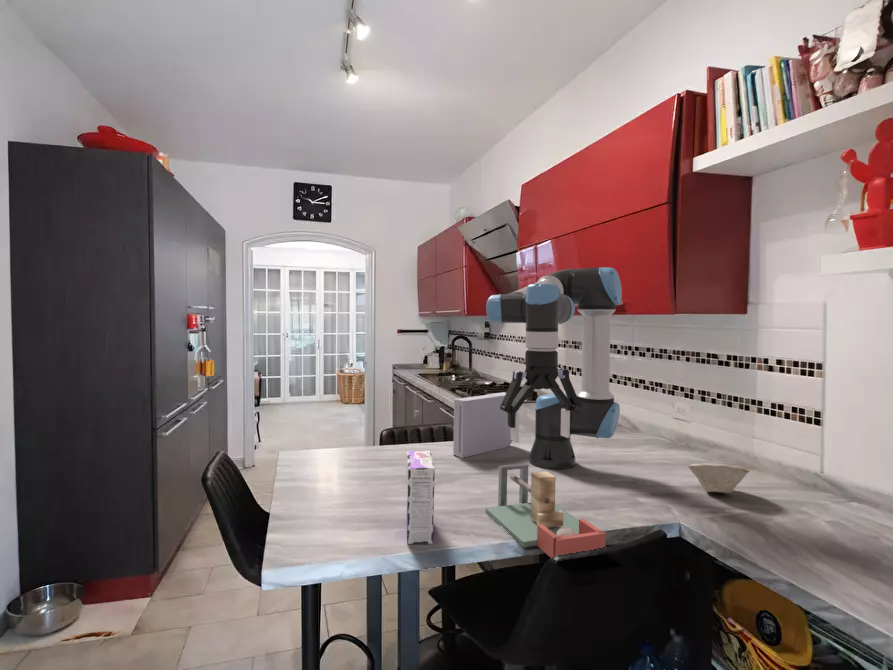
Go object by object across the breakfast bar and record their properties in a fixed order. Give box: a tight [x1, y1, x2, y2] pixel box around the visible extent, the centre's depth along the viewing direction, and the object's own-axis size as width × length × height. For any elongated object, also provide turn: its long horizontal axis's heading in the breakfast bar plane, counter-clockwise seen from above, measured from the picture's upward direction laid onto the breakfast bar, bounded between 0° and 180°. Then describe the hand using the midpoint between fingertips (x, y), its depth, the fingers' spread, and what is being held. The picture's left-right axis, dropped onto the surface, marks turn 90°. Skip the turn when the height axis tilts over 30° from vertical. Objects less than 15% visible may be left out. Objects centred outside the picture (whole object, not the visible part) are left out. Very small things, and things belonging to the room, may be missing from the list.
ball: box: [556, 527, 575, 537], centre depth 105 cm, size 4×4×4 cm
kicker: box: [508, 471, 564, 528], centre depth 120 cm, size 6×20×11 cm, turn 19°
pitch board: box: [485, 502, 579, 549], centre depth 116 cm, size 18×20×1 cm
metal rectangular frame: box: [497, 462, 529, 506], centre depth 128 cm, size 8×2×10 cm, turn 109°
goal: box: [536, 518, 607, 559], centre depth 103 cm, size 11×8×4 cm
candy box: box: [406, 450, 436, 545], centre depth 112 cm, size 14×6×16 cm, turn 5°
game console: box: [452, 391, 513, 459], centre depth 182 cm, size 6×27×20 cm, turn 133°
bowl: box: [688, 462, 750, 494], centre depth 140 cm, size 15×14×10 cm
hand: (540, 438), depth 118 cm, fingers open, 13 cm apart
